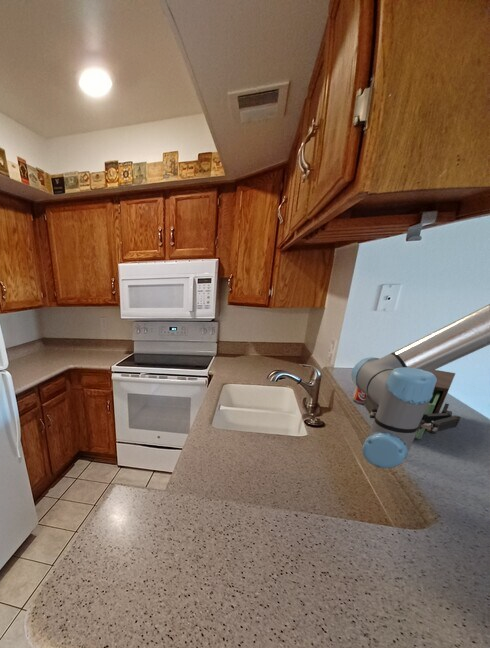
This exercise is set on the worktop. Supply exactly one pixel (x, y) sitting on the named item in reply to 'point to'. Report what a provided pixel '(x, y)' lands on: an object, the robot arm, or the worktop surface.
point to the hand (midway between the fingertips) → (414, 401)
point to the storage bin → (429, 409)
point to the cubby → (442, 387)
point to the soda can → (359, 396)
